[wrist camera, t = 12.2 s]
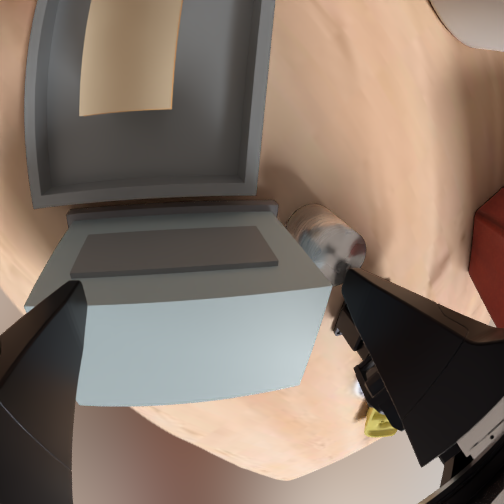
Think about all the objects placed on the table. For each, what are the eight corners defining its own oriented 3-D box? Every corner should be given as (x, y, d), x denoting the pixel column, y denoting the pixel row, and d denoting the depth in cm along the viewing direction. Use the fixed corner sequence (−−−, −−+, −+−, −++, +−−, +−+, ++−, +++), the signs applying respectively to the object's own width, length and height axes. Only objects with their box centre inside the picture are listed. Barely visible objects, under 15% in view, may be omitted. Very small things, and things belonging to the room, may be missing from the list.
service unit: (273, 200, 21) (344, 275, 13) (261, 296, 25) (304, 387, 17) (70, 209, 17) (11, 297, 9) (93, 308, 21) (75, 408, 13)
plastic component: (377, 398, 43) (425, 392, 41) (374, 368, 49) (419, 364, 47) (360, 438, 52) (399, 434, 50) (360, 413, 58) (397, 410, 56)
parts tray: (267, -30, 12) (279, -43, 10) (246, 184, 20) (256, 195, 18) (59, -21, 8) (47, -32, 6) (47, 196, 16) (33, 209, 14)
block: (180, 19, 12) (185, -17, 7) (172, 107, 15) (171, 109, 10) (115, 23, 11) (92, -9, 6) (107, 112, 14) (78, 117, 9)
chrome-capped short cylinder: (337, 204, 23) (372, 230, 18) (327, 250, 25) (357, 283, 21) (289, 203, 21) (318, 232, 17) (281, 253, 24) (306, 289, 19)
